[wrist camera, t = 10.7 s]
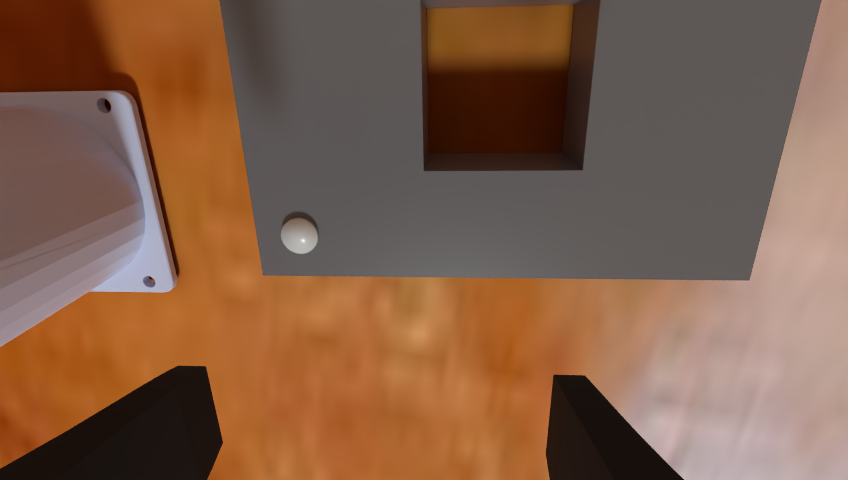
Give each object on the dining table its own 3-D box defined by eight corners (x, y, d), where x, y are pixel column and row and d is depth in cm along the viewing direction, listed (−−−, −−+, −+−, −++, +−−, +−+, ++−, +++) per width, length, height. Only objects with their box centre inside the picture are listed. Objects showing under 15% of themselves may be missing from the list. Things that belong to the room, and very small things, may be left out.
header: (291, 243, 19) (260, 277, 16) (245, -115, 14) (190, -162, 11) (702, 245, 18) (753, 283, 15) (784, -142, 13) (879, -200, 10)
